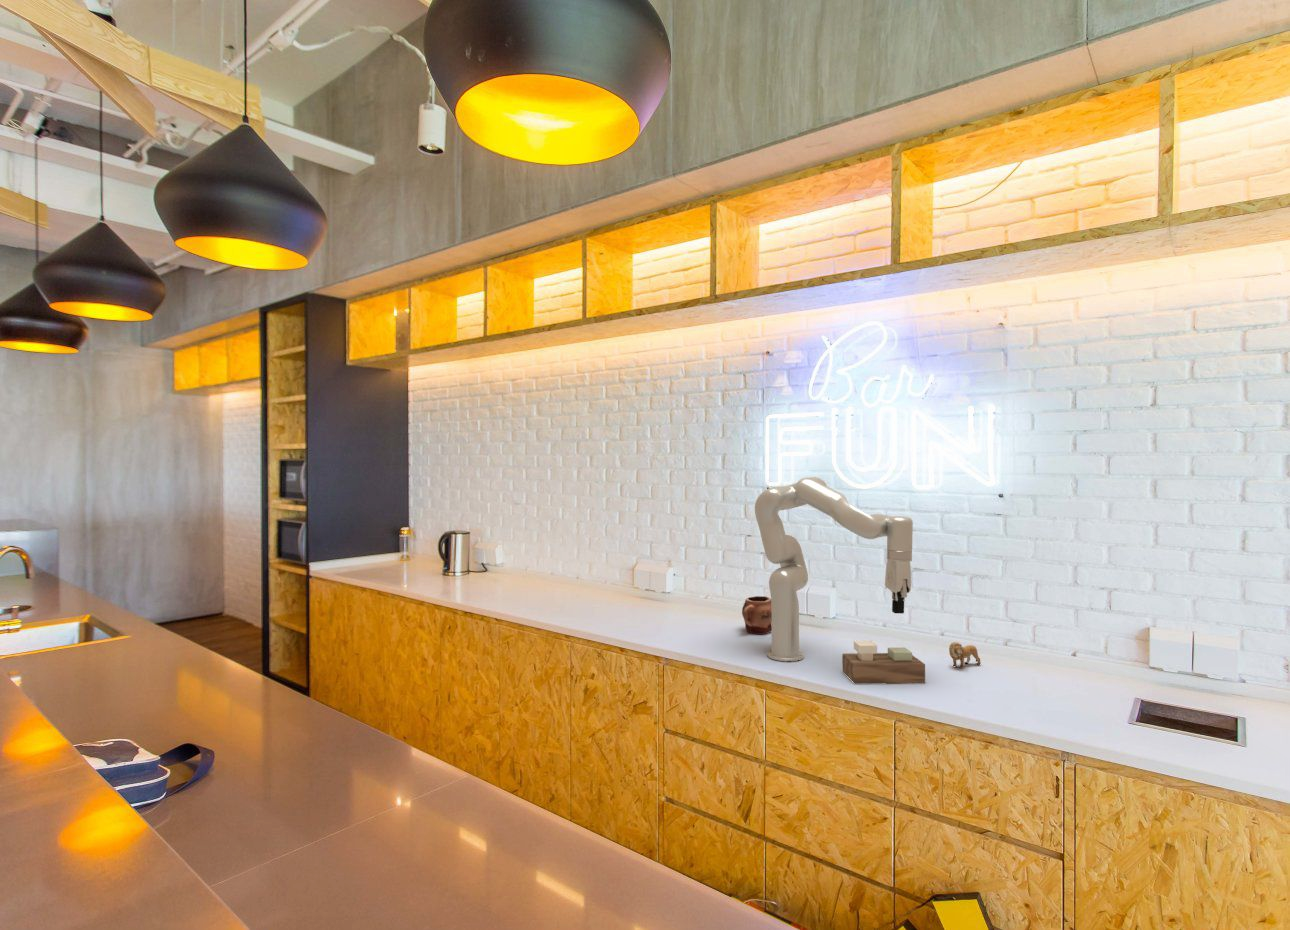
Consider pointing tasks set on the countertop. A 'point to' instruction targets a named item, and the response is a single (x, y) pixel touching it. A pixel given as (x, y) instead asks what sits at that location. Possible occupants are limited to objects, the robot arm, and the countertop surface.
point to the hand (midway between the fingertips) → (898, 612)
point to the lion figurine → (963, 653)
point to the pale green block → (900, 654)
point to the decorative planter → (757, 614)
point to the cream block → (865, 650)
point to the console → (883, 669)
